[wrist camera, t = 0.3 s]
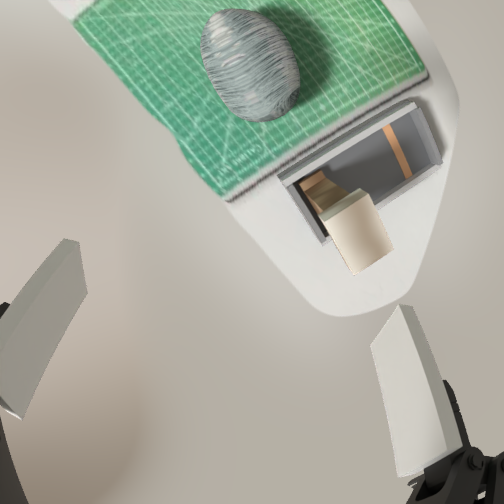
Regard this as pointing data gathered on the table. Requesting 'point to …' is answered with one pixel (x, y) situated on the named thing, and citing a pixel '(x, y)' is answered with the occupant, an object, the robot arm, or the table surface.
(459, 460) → the robot arm
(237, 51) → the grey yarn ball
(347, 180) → the gray rectangular tray
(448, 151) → the table surface
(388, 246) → the block
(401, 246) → the table surface
